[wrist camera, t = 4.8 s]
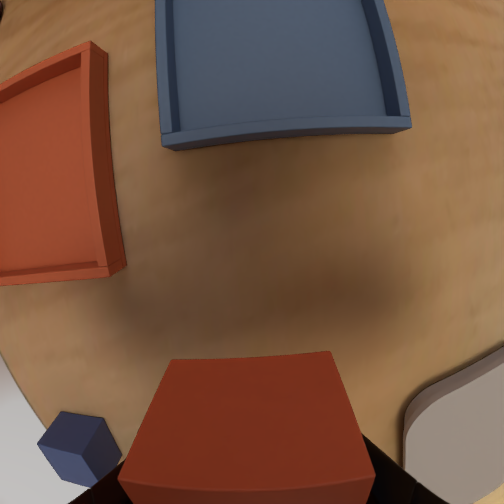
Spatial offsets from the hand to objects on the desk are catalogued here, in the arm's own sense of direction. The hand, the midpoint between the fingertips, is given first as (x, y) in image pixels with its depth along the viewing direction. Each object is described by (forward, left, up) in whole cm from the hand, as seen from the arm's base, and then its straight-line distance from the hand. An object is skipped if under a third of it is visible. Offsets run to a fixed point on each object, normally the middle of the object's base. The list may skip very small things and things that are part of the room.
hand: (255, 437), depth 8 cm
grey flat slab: (-19, -20, -10) cm, 29 cm away
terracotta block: (0, 0, -1) cm, 1 cm away
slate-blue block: (-11, +15, -10) cm, 22 cm away
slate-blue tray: (+16, -3, -10) cm, 19 cm away
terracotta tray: (+10, +13, -10) cm, 19 cm away
